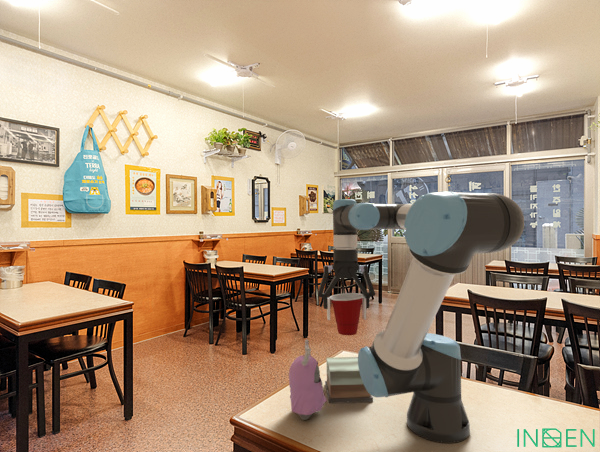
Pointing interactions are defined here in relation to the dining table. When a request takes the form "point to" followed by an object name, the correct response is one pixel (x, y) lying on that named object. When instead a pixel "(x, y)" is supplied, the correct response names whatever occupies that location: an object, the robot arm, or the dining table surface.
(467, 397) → the dining table surface
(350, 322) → the plastic cup
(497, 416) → the dining table surface
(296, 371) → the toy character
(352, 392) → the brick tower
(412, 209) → the robot arm
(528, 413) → the dining table surface
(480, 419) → the dining table surface
